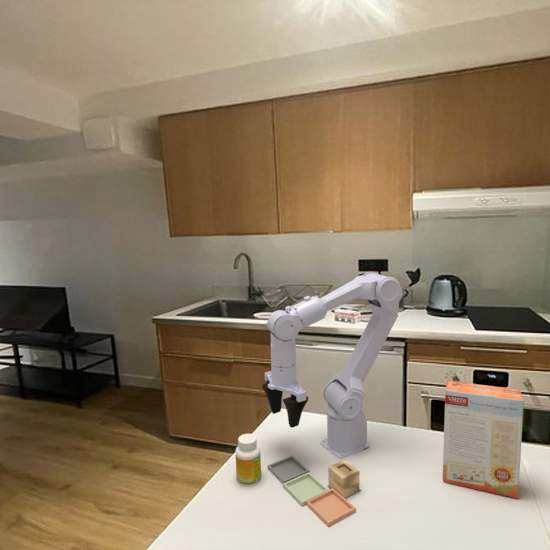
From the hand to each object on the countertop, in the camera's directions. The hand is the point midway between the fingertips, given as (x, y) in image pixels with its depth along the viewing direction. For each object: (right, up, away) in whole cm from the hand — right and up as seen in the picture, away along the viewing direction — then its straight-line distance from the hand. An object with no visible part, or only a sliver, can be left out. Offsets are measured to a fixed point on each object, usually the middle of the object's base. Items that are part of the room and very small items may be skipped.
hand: (284, 418), depth 93 cm
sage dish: (+4, -11, -10) cm, 16 cm away
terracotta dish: (+9, -12, -15) cm, 21 cm away
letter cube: (+12, -11, -10) cm, 19 cm away
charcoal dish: (+1, -11, -4) cm, 11 cm away
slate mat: (+12, -11, -10) cm, 19 cm away
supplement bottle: (-8, -11, -6) cm, 15 cm away
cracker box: (+41, -10, -9) cm, 43 cm away
